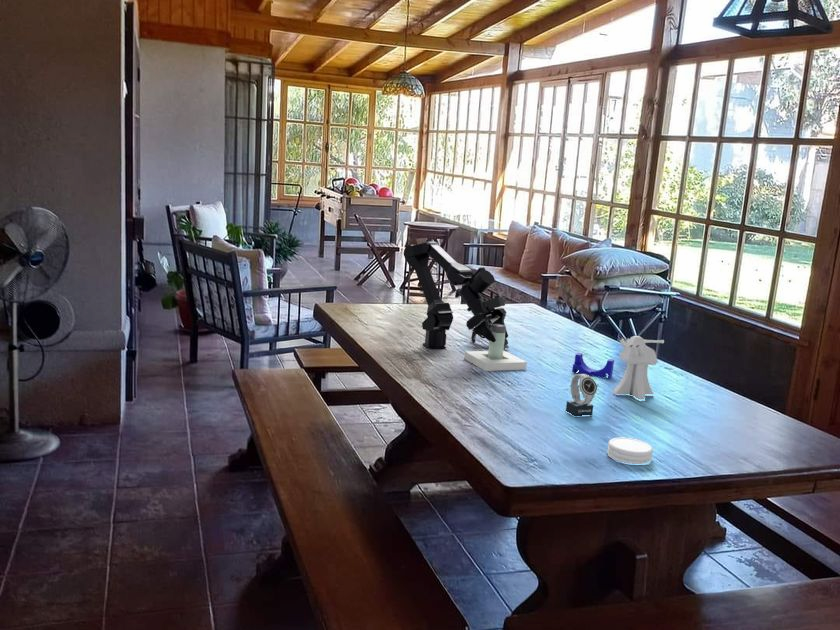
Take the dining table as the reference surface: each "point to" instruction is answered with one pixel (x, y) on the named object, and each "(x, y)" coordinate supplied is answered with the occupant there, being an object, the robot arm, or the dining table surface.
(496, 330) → the capped bottle
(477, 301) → the robot arm
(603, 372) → the blue cradle stand
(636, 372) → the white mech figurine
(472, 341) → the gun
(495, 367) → the housing
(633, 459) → the coaster
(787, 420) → the dining table surface
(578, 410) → the watch
